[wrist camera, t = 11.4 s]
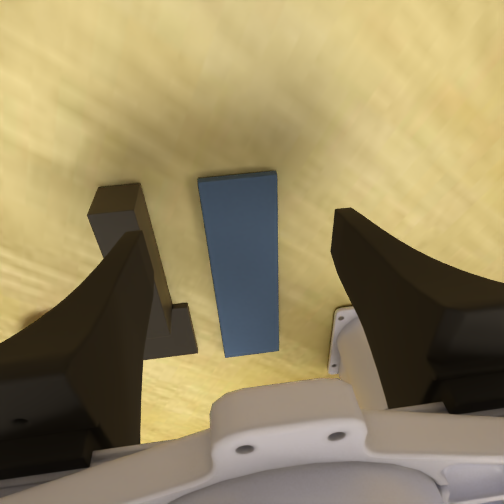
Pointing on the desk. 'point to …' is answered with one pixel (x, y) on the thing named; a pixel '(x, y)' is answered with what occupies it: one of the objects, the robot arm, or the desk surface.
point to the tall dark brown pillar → (162, 311)
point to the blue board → (244, 258)
